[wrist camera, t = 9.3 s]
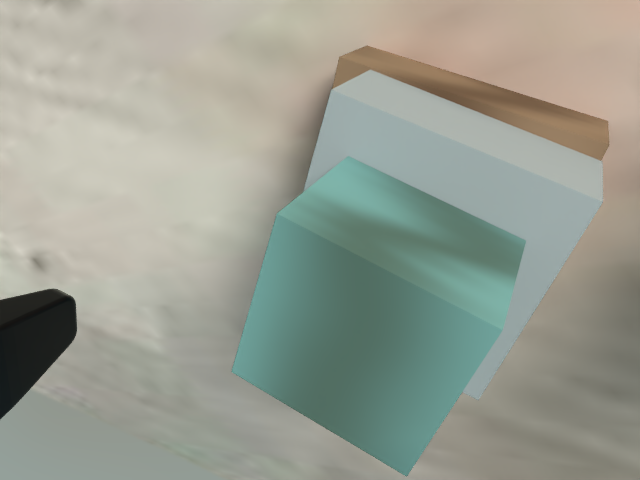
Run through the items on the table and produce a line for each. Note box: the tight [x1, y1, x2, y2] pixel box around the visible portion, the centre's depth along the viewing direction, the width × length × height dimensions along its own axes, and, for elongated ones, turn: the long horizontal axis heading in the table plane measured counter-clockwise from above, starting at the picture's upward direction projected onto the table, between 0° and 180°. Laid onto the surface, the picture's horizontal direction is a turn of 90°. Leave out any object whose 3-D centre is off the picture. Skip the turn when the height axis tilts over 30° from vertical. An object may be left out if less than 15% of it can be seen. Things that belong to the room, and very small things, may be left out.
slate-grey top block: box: [303, 70, 603, 400], centre depth 16 cm, size 7×7×3 cm
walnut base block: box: [332, 46, 609, 161], centre depth 19 cm, size 8×8×3 cm
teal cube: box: [232, 156, 526, 476], centre depth 14 cm, size 5×5×4 cm
